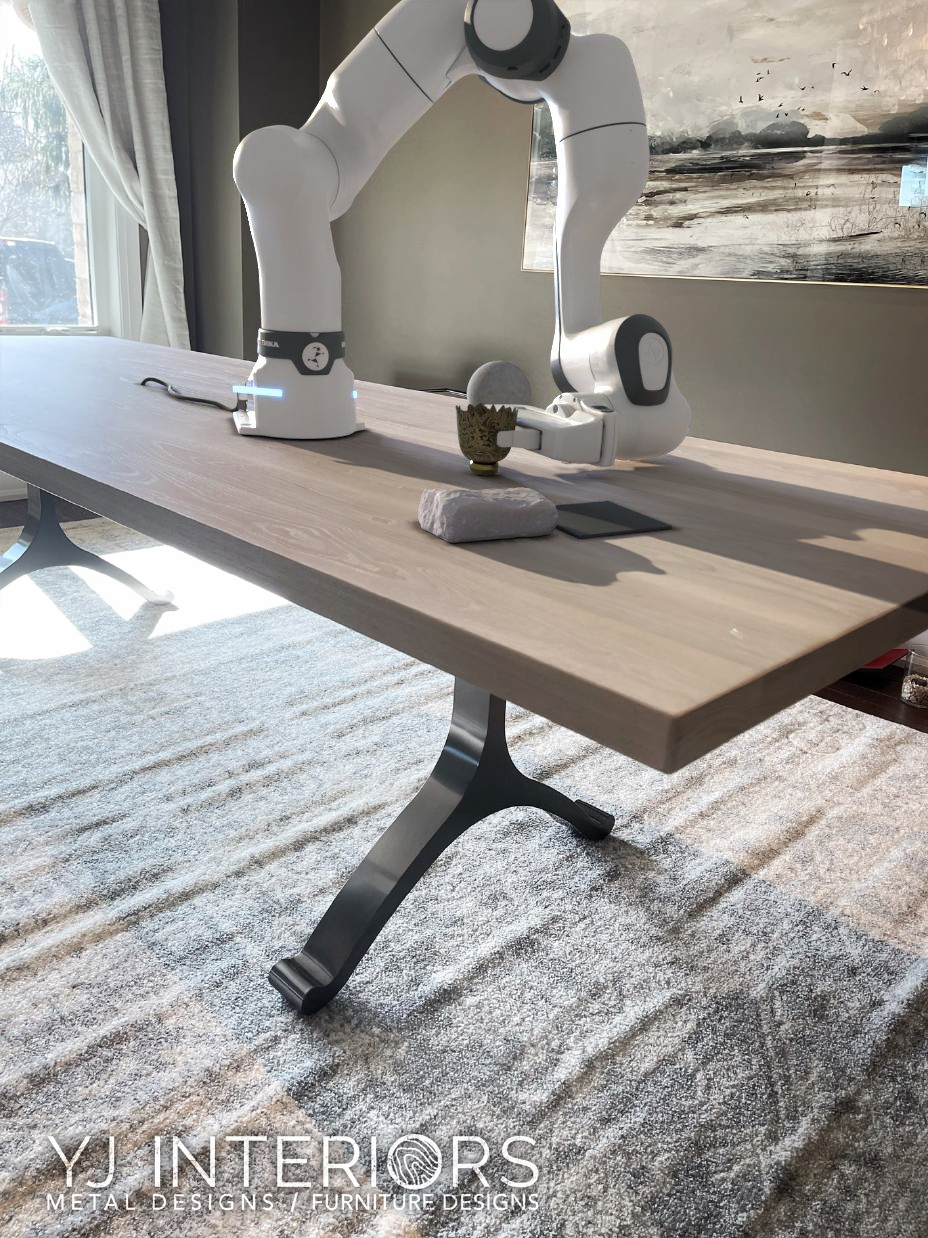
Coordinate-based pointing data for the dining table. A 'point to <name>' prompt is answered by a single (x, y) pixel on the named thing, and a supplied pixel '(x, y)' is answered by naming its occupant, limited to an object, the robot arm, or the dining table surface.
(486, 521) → the stone block
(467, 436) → the cup
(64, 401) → the dining table surface
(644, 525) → the slate coaster
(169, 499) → the dining table surface
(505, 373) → the decorative ball
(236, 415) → the robot arm
